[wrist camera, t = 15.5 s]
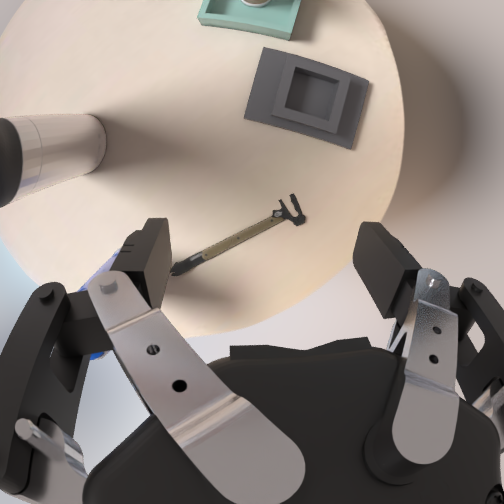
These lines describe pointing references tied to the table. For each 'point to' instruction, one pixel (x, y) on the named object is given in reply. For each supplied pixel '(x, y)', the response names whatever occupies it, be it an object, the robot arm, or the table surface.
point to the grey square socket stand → (306, 97)
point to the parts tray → (251, 16)
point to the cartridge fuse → (255, 3)
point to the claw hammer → (240, 237)
